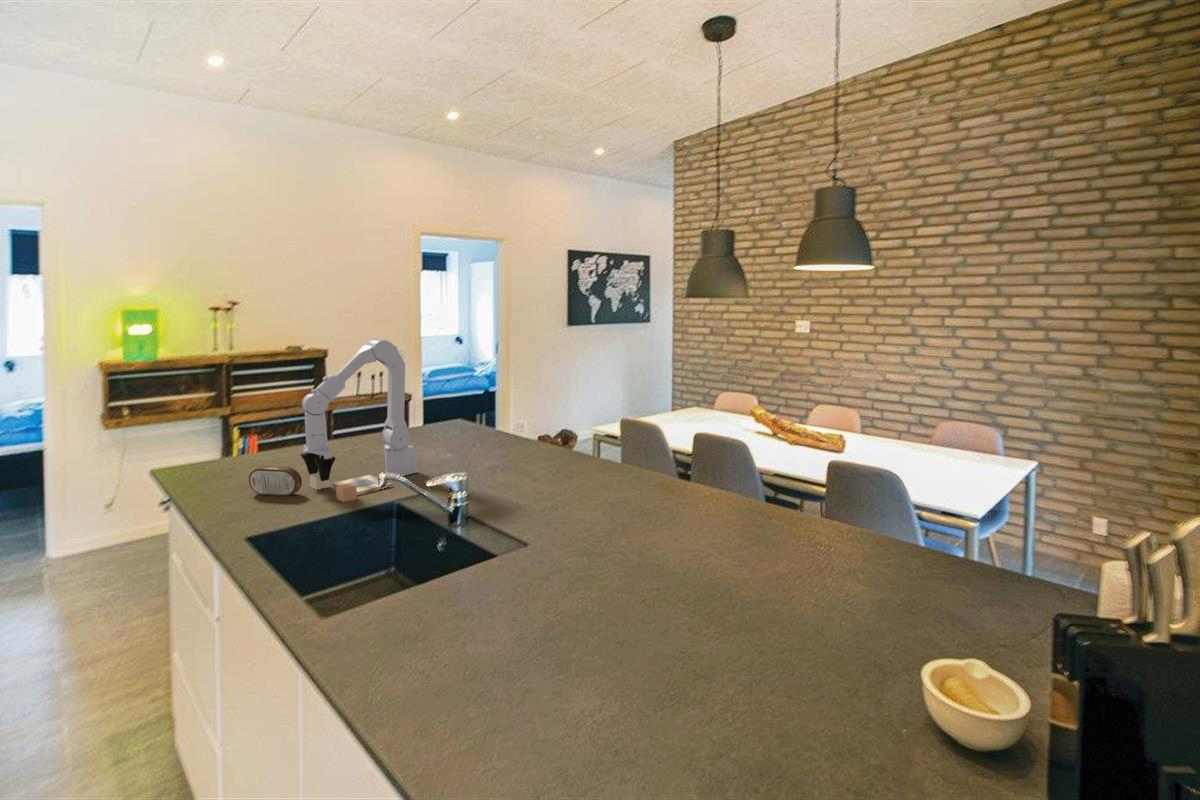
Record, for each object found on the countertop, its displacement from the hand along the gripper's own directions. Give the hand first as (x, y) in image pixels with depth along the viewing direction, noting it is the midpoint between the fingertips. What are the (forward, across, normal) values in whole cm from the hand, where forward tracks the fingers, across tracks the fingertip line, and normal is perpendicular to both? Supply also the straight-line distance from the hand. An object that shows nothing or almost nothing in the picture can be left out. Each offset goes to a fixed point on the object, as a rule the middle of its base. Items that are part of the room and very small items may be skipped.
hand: (319, 477), depth 187 cm
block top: (+3, +17, 0) cm, 17 cm away
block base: (+3, 0, 0) cm, 3 cm away
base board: (+3, +9, +9) cm, 13 cm away
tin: (+3, -2, -12) cm, 12 cm away
